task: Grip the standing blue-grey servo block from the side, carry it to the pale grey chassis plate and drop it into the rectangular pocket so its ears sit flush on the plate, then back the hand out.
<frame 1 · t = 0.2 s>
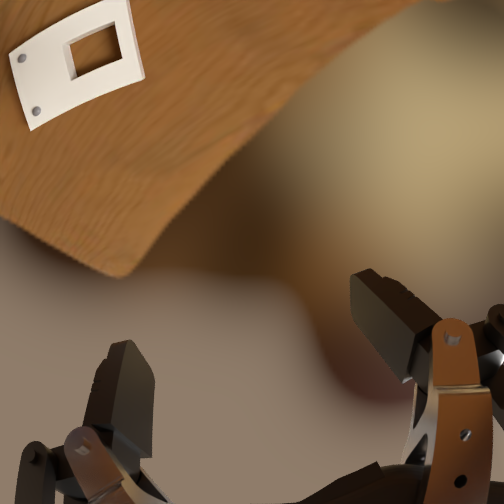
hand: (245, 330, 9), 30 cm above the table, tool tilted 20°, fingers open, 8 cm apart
chassis: (75, 60, 21), on the table
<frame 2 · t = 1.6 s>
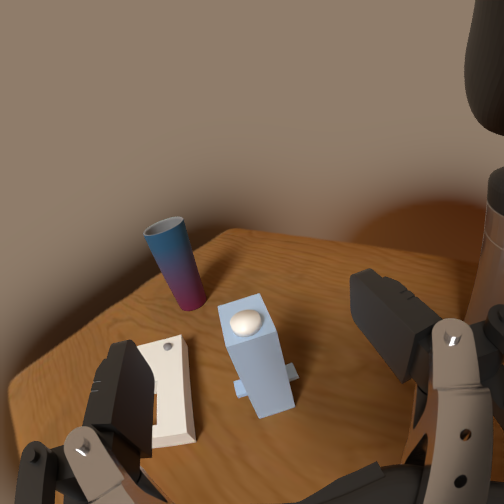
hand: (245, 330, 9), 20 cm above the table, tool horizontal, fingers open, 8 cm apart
servo: (270, 394, 28), on the table
cup: (193, 303, 48), on the table
chassis: (148, 397, 30), on the table
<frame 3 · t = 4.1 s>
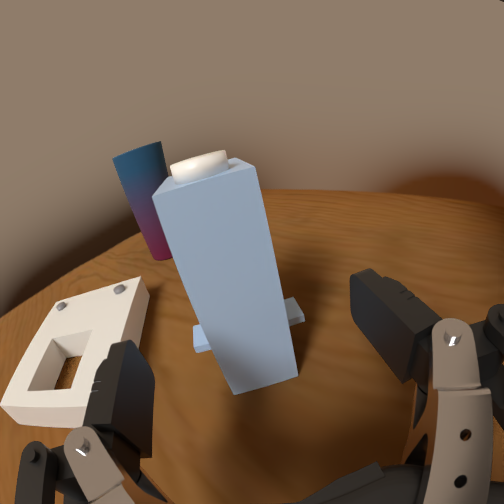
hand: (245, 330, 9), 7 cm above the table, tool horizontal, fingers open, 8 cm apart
servo: (256, 355, 17), on the table
cup: (170, 252, 38), on the table
chassis: (84, 357, 20), on the table
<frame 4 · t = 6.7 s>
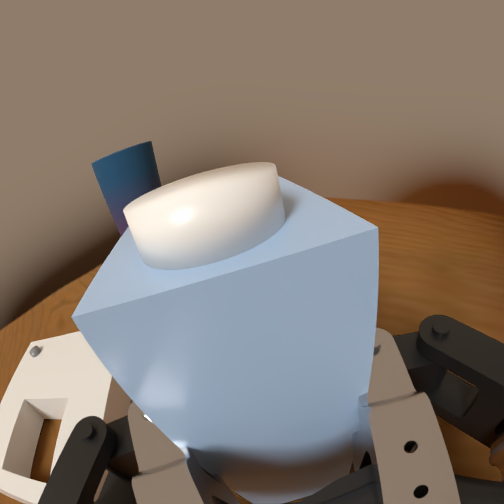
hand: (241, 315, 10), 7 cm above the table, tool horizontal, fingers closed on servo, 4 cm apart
servo: (288, 452, 11), on the table, touching gripper
cup: (165, 277, 31), on the table
chassis: (64, 422, 13), on the table
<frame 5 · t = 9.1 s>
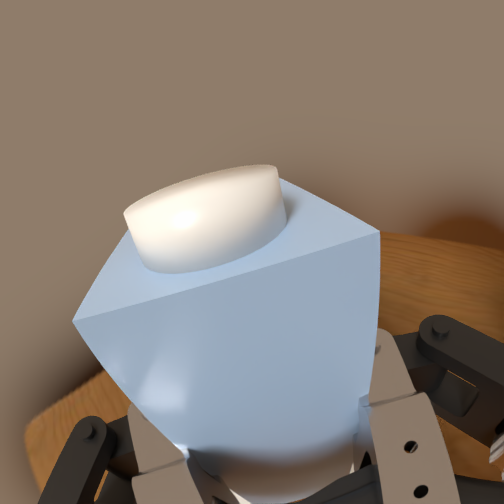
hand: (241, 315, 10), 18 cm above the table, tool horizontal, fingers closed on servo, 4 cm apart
servo: (288, 453, 11), point 11 cm above the table, touching gripper
when the fingers open (9 cm above the table, at t = 11.6 s): servo drops 1 cm, resting in chassis.
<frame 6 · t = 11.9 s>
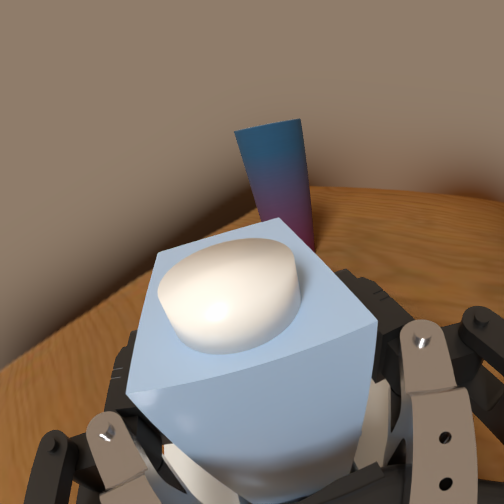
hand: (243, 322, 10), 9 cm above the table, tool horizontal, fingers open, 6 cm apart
servo: (292, 461, 11), resting in chassis
cup: (293, 256, 32), on the table
chassis: (277, 420, 14), on the table
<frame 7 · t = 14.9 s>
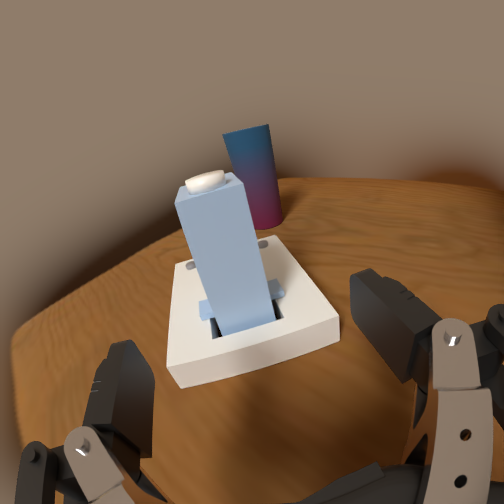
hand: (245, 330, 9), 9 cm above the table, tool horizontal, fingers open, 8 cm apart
servo: (248, 325, 23), resting in chassis
cup: (267, 224, 43), on the table
chassis: (242, 306, 25), on the table
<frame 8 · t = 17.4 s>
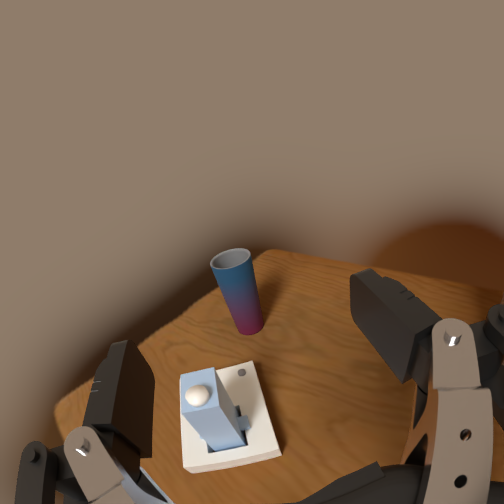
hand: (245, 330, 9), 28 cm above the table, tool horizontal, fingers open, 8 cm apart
servo: (230, 436, 31), resting in chassis
cup: (250, 326, 51), on the table
chassis: (226, 419, 33), on the table
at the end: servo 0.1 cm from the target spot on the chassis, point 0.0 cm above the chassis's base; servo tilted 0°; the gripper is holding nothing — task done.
